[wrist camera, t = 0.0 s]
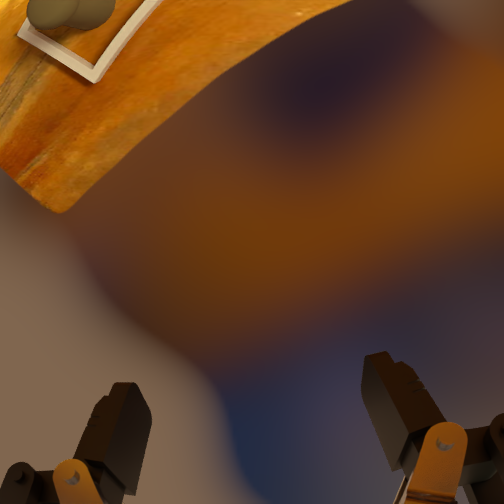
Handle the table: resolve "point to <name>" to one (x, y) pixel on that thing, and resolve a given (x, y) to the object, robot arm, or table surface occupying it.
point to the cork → (69, 13)
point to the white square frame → (76, 61)
